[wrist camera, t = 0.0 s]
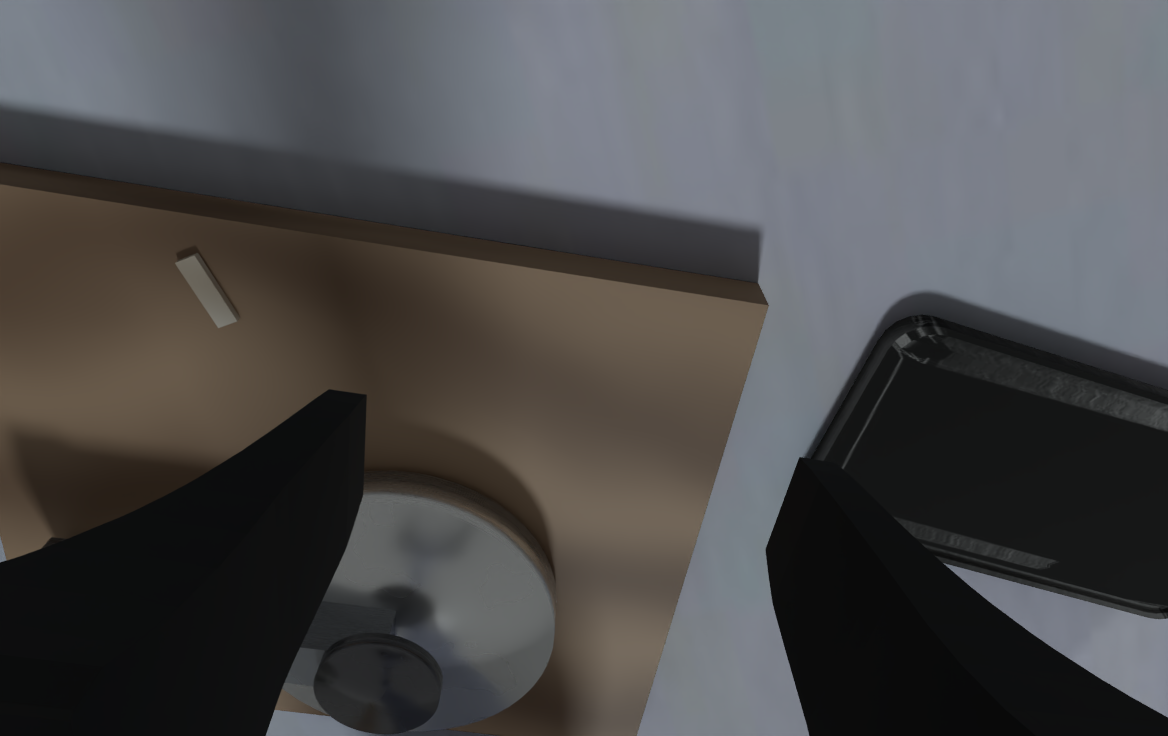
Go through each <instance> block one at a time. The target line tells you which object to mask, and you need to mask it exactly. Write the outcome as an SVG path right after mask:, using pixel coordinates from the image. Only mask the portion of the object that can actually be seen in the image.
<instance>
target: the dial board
mask: <svg viewBox="0 0 1168 736" xmlns="http://www.w3.org/2000/svg"><path fill="white" fill-rule="evenodd" d="M768 306H769V305H768V303H767V301H766V299H765V297H764V294H763V292H762V290H761V288H760V286H759V284H758V283H752V282H746V281H740V280H733V279H727V278H721V277H715V276H708V275H702V274H696V273H690V272H683V271H677V270H671V269H664V268H658V267H652V266H646V265H639V264H633V263H627V262H621V261H614V260H608V259H602V258H595V257H589V256H583V255H577V254H570V253H564V252H558V251H552V250H545V249H539V248H533V247H527V246H520V245H514V244H508V243H501V242H495V241H489V240H483V239H476V238H470V237H464V236H458V235H451V234H445V233H439V232H432V231H426V230H420V229H414V228H407V227H401V226H395V225H389V224H382V223H376V222H370V221H364V220H357V219H351V218H345V217H338V216H332V215H326V214H320V213H313V212H307V211H301V210H295V209H288V208H282V207H276V206H269V205H263V204H257V203H251V202H244V201H238V200H232V199H226V198H219V197H213V196H207V195H201V194H194V193H188V192H182V191H175V190H169V189H163V188H157V187H150V186H144V185H138V184H132V183H125V182H119V181H113V180H106V179H100V178H94V177H88V176H81V175H75V174H69V173H63V172H56V171H50V170H44V169H38V168H31V167H25V166H19V165H12V164H6V163H0V536H1V540H2V544H3V548H4V552H5V556H6V559H7V560H10V559H13V558H16V557H19V556H22V555H25V554H28V553H30V552H33V551H36V550H39V549H41V548H42V547H43V546H44V545H45V544H46V543H47V541H48V540H49V539H50V538H51V537H56V538H64V539H68V538H71V537H73V536H76V535H78V534H80V533H83V532H85V531H88V530H90V529H92V528H95V527H97V526H100V525H102V524H105V523H107V522H109V521H112V520H114V519H117V518H119V517H121V516H124V515H126V514H128V513H130V512H132V511H135V510H137V509H139V508H141V507H143V506H145V505H147V504H149V503H151V502H153V501H155V500H157V499H159V498H161V497H163V496H165V495H167V494H169V493H171V492H173V491H175V490H176V489H178V488H180V487H182V486H184V485H186V484H188V483H189V482H191V481H193V480H195V479H196V478H198V477H200V476H201V475H203V474H205V473H206V472H208V471H210V470H211V469H213V468H214V467H216V466H218V465H219V464H221V463H223V462H224V461H226V460H227V459H229V458H231V457H232V456H234V455H236V454H237V453H239V452H240V451H242V450H243V449H245V448H246V447H248V446H249V445H251V444H252V443H253V442H255V441H256V440H258V439H259V438H261V437H262V436H264V435H265V434H267V433H268V432H270V431H271V430H272V429H274V428H275V427H277V426H278V425H279V424H281V423H282V422H284V421H285V420H286V419H288V418H289V417H290V416H292V415H293V414H295V413H296V412H297V411H299V410H300V409H301V408H303V407H304V406H306V405H307V404H308V403H310V402H311V401H313V400H314V399H315V398H317V397H318V396H320V395H321V394H323V393H324V392H326V391H327V390H328V389H331V390H338V391H345V392H352V393H359V394H366V395H367V405H366V433H365V462H364V472H368V471H401V472H413V473H419V474H424V475H429V476H435V477H438V478H442V479H445V480H448V481H452V482H455V483H458V484H460V485H463V486H465V487H467V488H470V489H472V490H475V491H477V492H479V493H481V494H482V495H484V496H486V497H488V498H490V499H491V500H493V501H495V502H496V503H498V504H499V505H501V506H502V507H503V508H505V509H506V510H508V511H509V512H510V513H512V514H513V515H514V516H515V517H516V518H517V519H518V520H519V521H520V522H521V523H523V524H524V525H525V526H526V527H527V529H528V530H529V531H530V532H531V533H532V535H533V536H534V537H535V538H536V539H537V541H538V543H539V544H540V546H541V547H542V549H543V551H544V552H545V554H546V556H547V558H548V561H549V563H550V565H551V568H552V571H553V575H554V579H555V583H556V597H557V599H556V617H555V634H554V643H553V649H552V653H551V656H550V659H549V662H548V664H547V666H546V668H545V670H544V672H543V674H542V675H541V677H540V678H539V679H538V681H537V682H536V683H535V685H534V686H533V687H532V688H531V689H530V690H529V691H528V692H527V693H526V694H525V695H524V696H523V697H522V698H520V699H519V700H518V701H516V702H515V703H514V704H512V705H511V706H510V707H508V708H506V709H504V710H502V711H501V712H499V713H497V714H495V715H493V716H490V717H488V718H486V719H483V720H481V721H478V722H475V723H471V724H468V725H464V726H460V727H455V728H450V729H447V730H455V731H464V732H473V733H481V734H490V735H499V736H637V732H638V729H639V726H640V723H641V719H642V716H643V713H644V710H645V706H646V703H647V700H648V697H649V693H650V690H651V687H652V684H653V680H654V677H655V674H656V671H657V667H658V664H659V661H660V658H661V654H662V651H663V648H664V645H665V641H666V638H667V635H668V632H669V628H670V625H671V622H672V618H673V615H674V612H675V609H676V605H677V602H678V599H679V596H680V592H681V589H682V586H683V583H684V579H685V576H686V573H687V570H688V566H689V563H690V560H691V557H692V553H693V550H694V547H695V544H696V540H697V537H698V534H699V531H700V527H701V524H702V521H703V518H704V514H705V511H706V508H707V505H708V501H709V498H710V495H711V492H712V488H713V485H714V482H715V479H716V475H717V472H718V469H719V466H720V462H721V459H722V456H723V453H724V449H725V446H726V443H727V440H728V436H729V433H730V430H731V427H732V423H733V420H734V417H735V414H736V410H737V407H738V404H739V401H740V397H741V394H742V391H743V388H744V384H745V381H746V378H747V375H748V371H749V368H750V365H751V362H752V358H753V355H754V352H755V349H756V345H757V342H758V339H759V336H760V332H761V329H762V326H763V322H764V319H765V316H766V313H767V309H768ZM275 710H281V711H290V712H299V713H307V714H316V715H325V716H330V715H328V714H325V713H323V712H321V711H319V710H316V709H314V708H312V707H310V706H309V705H307V704H305V703H303V702H301V701H299V700H298V699H296V698H295V697H293V696H292V695H290V694H289V693H288V692H286V691H285V690H283V689H282V690H281V693H280V696H279V698H278V701H277V704H276V707H275Z"/></svg>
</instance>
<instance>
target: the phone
mask: <svg viewBox="0 0 1168 736" xmlns="http://www.w3.org/2000/svg"><path fill="white" fill-rule="evenodd" d="M811 459H814V460H821V461H828V462H835V463H836V464H837V465H838V466H840V467H841V468H842V469H843V470H844V471H846V472H847V473H848V474H849V475H850V476H851V477H852V478H853V479H854V480H855V481H856V482H857V483H859V484H860V485H861V486H862V487H863V488H864V489H865V490H866V491H867V492H868V493H869V494H870V495H871V496H872V497H873V498H874V499H875V500H876V501H877V502H878V503H879V504H880V505H881V506H882V507H883V508H884V509H885V510H886V511H887V512H888V513H890V514H891V515H892V516H893V517H894V518H895V519H896V520H897V521H898V522H899V523H900V524H901V525H902V526H903V527H904V528H905V529H906V530H907V531H908V532H909V533H910V534H912V535H913V536H914V537H915V538H916V539H917V540H918V541H919V542H920V543H921V544H922V545H923V546H924V547H925V548H927V549H928V550H929V551H930V552H931V553H932V554H933V555H934V556H935V557H937V558H938V559H939V560H940V561H941V562H942V563H946V564H949V565H953V566H957V567H960V568H964V569H968V570H972V571H975V572H979V573H983V574H987V575H990V576H994V577H998V578H1002V579H1005V580H1009V581H1013V582H1017V583H1020V584H1024V585H1028V586H1032V587H1035V588H1039V589H1043V590H1047V591H1050V592H1054V593H1058V594H1062V595H1065V596H1069V597H1073V598H1077V599H1080V600H1084V601H1088V602H1092V603H1095V604H1099V605H1103V606H1107V607H1110V608H1114V609H1118V610H1122V611H1125V612H1129V613H1133V614H1137V615H1140V616H1144V617H1148V618H1154V619H1166V618H1168V390H1165V389H1161V388H1158V387H1155V386H1152V385H1149V384H1146V383H1143V382H1139V381H1136V380H1133V379H1130V378H1127V377H1124V376H1120V375H1117V374H1114V373H1111V372H1108V371H1105V370H1101V369H1098V368H1095V367H1092V366H1089V365H1086V364H1082V363H1079V362H1076V361H1073V360H1070V359H1067V358H1063V357H1060V356H1057V355H1054V354H1051V353H1048V352H1044V351H1041V350H1038V349H1035V348H1032V347H1029V346H1025V345H1022V344H1019V343H1016V342H1013V341H1010V340H1006V339H1003V338H1000V337H997V336H994V335H991V334H987V333H984V332H981V331H978V330H975V329H972V328H969V327H965V326H962V325H959V324H956V323H953V322H950V321H946V320H943V319H940V318H937V317H933V316H926V315H918V316H910V317H907V318H905V319H902V320H900V321H898V322H896V323H895V324H893V325H892V326H891V327H889V328H888V329H887V330H886V331H885V332H884V333H883V335H882V336H881V337H880V339H879V340H878V342H877V344H876V345H875V347H874V349H873V351H872V352H871V354H870V356H869V358H868V359H867V361H866V363H865V365H864V366H863V368H862V370H861V372H860V373H859V375H858V377H857V379H856V381H855V382H854V384H853V386H852V388H851V389H850V391H849V393H848V395H847V396H846V398H845V400H844V402H843V403H842V405H841V407H840V409H839V410H838V412H837V414H836V416H835V418H834V419H833V421H832V423H831V425H830V426H829V428H828V430H827V432H826V433H825V435H824V437H823V439H822V440H821V442H820V444H819V446H818V447H817V449H816V451H815V453H814V454H813V456H812V458H811Z"/></svg>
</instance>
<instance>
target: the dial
mask: <svg viewBox="0 0 1168 736" xmlns="http://www.w3.org/2000/svg"><path fill="white" fill-rule="evenodd" d="M63 540H66V539H64V538H56V537H51V538H50V539H49V540H48V541H47V543H46V544H45V545H44V546H43V547H42V548H45V547H47V546H50V545H53V544H56V543H58V542H61V541H63ZM42 548H41V549H42ZM556 599H557V597H556V583H555V579H554V575H553V571H552V568H551V565H550V563H549V561H548V558H547V556H546V554H545V552H544V551H543V549H542V547H541V546H540V544H539V543H538V541H537V539H536V538H535V537H534V536H533V535H532V533H531V532H530V531H529V530H528V529H527V527H526V526H525V525H524V524H523V523H521V522H520V521H519V520H518V519H517V518H516V517H515V516H514V515H513V514H512V513H510V512H509V511H508V510H506V509H505V508H503V507H502V506H501V505H499V504H498V503H496V502H495V501H493V500H491V499H490V498H488V497H486V496H484V495H482V494H481V493H479V492H477V491H475V490H472V489H470V488H467V487H465V486H463V485H460V484H458V483H455V482H452V481H448V480H445V479H442V478H438V477H435V476H429V475H424V474H419V473H413V472H401V471H368V472H364V490H363V498H362V501H361V504H360V507H359V511H358V514H357V517H356V520H355V524H354V527H353V530H352V533H351V536H350V539H349V542H348V545H347V548H346V550H345V552H344V555H343V557H342V559H341V561H340V563H339V566H338V568H337V570H336V572H335V574H334V576H333V579H332V581H331V583H330V585H329V587H328V589H327V591H326V594H325V596H324V598H323V600H322V602H321V604H320V606H319V608H318V611H317V613H316V615H315V617H314V619H313V621H312V623H311V625H310V628H309V630H308V632H307V634H306V636H305V638H304V640H303V642H302V645H301V647H300V649H299V651H298V653H297V655H296V657H295V659H294V662H293V664H292V666H291V668H290V671H289V673H288V676H287V678H286V680H285V683H284V685H283V688H282V689H283V690H285V691H286V692H288V693H289V694H290V695H292V696H293V697H295V698H296V699H298V700H299V701H301V702H303V703H305V704H307V705H309V706H310V707H312V708H314V709H316V710H319V711H321V712H323V713H325V714H328V715H330V716H331V717H332V718H334V719H335V720H337V721H338V722H340V723H342V724H344V725H346V726H348V727H350V728H353V729H356V730H359V731H364V732H368V733H375V734H395V733H401V732H406V731H407V732H410V731H434V730H445V729H450V728H455V727H460V726H464V725H468V724H471V723H475V722H478V721H481V720H483V719H486V718H488V717H490V716H493V715H495V714H497V713H499V712H501V711H502V710H504V709H506V708H508V707H510V706H511V705H512V704H514V703H515V702H516V701H518V700H519V699H520V698H522V697H523V696H524V695H525V694H526V693H527V692H528V691H529V690H530V689H531V688H532V687H533V686H534V685H535V683H536V682H537V681H538V679H539V678H540V677H541V675H542V674H543V672H544V670H545V668H546V666H547V664H548V662H549V659H550V656H551V653H552V649H553V643H554V634H555V617H556Z"/></svg>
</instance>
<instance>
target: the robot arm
mask: <svg viewBox="0 0 1168 736" xmlns="http://www.w3.org/2000/svg"><path fill="white" fill-rule="evenodd" d="M366 405H367V395H366V394H359V393H352V392H345V391H338V390H331V389H328V390H327V391H326V392H324V393H323V394H321V395H320V396H318V397H317V398H315V399H314V400H313V401H311V402H310V403H308V404H307V405H306V406H304V407H303V408H301V409H300V410H299V411H297V412H296V413H295V414H293V415H292V416H290V417H289V418H288V419H286V420H285V421H284V422H282V423H281V424H279V425H278V426H277V427H275V428H274V429H272V430H271V431H270V432H268V433H267V434H265V435H264V436H262V437H261V438H259V439H258V440H256V441H255V442H253V443H252V444H251V445H249V446H248V447H246V448H245V449H243V450H242V451H240V452H239V453H237V454H236V455H234V456H232V457H231V458H229V459H227V460H226V461H224V462H223V463H221V464H219V465H218V466H216V467H214V468H213V469H211V470H210V471H208V472H206V473H205V474H203V475H201V476H200V477H198V478H196V479H195V480H193V481H191V482H189V483H188V484H186V485H184V486H182V487H180V488H178V489H176V490H175V491H173V492H171V493H169V494H167V495H165V496H163V497H161V498H159V499H157V500H155V501H153V502H151V503H149V504H147V505H145V506H143V507H141V508H139V509H137V510H135V511H132V512H130V513H128V514H126V515H124V516H121V517H119V518H117V519H114V520H112V521H109V522H107V523H105V524H102V525H100V526H97V527H95V528H92V529H90V530H88V531H85V532H83V533H80V534H78V535H76V536H73V537H71V538H68V539H66V540H63V541H61V542H58V543H56V544H53V545H50V546H47V547H45V548H42V549H39V550H36V551H33V552H30V553H28V554H25V555H22V556H19V557H16V558H13V559H10V560H7V561H4V562H1V563H0V736H266V733H267V730H268V727H269V724H270V721H271V718H272V716H273V713H274V710H275V707H276V704H277V701H278V698H279V696H280V693H281V690H282V688H283V685H284V683H285V680H286V678H287V676H288V673H289V671H290V668H291V666H292V664H293V662H294V659H295V657H296V655H297V653H298V651H299V649H300V647H301V645H302V642H303V640H304V638H305V636H306V634H307V632H308V630H309V628H310V625H311V623H312V621H313V619H314V617H315V615H316V613H317V611H318V608H319V606H320V604H321V602H322V600H323V598H324V596H325V594H326V591H327V589H328V587H329V585H330V583H331V581H332V579H333V576H334V574H335V572H336V570H337V568H338V566H339V563H340V561H341V559H342V557H343V555H344V552H345V550H346V548H347V545H348V542H349V539H350V536H351V533H352V530H353V527H354V524H355V520H356V517H357V514H358V511H359V507H360V504H361V501H362V498H363V490H364V462H365V433H366ZM766 557H767V565H768V574H769V582H770V588H771V595H772V601H773V606H774V610H775V614H776V618H777V621H778V625H779V628H780V632H781V636H782V639H783V643H784V647H785V650H786V654H787V657H788V661H789V664H790V668H791V671H792V675H793V678H794V682H795V685H796V689H797V692H798V696H799V699H800V703H801V706H802V710H803V713H804V717H805V720H806V724H807V727H808V732H809V736H1168V717H1166V716H1164V715H1162V714H1160V713H1159V712H1157V711H1155V710H1153V709H1151V708H1150V707H1148V706H1146V705H1144V704H1142V703H1141V702H1139V701H1137V700H1135V699H1133V698H1132V697H1130V696H1128V695H1127V694H1125V693H1123V692H1122V691H1120V690H1118V689H1117V688H1115V687H1113V686H1111V685H1110V684H1108V683H1106V682H1105V681H1103V680H1101V679H1100V678H1098V677H1097V676H1095V675H1093V674H1092V673H1090V672H1089V671H1087V670H1086V669H1084V668H1083V667H1081V666H1080V665H1078V664H1076V663H1075V662H1073V661H1072V660H1070V659H1069V658H1067V657H1066V656H1064V655H1062V654H1061V653H1059V652H1058V651H1056V650H1055V649H1053V648H1052V647H1050V646H1049V645H1047V644H1046V643H1045V642H1043V641H1042V640H1040V639H1039V638H1037V637H1036V636H1034V635H1033V634H1032V633H1030V632H1029V631H1027V630H1026V629H1025V628H1023V627H1022V626H1021V625H1019V624H1018V623H1017V622H1015V621H1014V620H1013V619H1011V618H1010V617H1009V616H1007V615H1006V614H1005V613H1003V612H1002V611H1001V610H999V609H998V608H997V607H995V606H994V605H992V604H991V603H990V602H989V601H987V600H986V599H985V598H984V597H982V596H981V595H980V594H979V593H977V592H976V591H975V590H974V589H973V588H971V587H970V586H969V585H968V584H967V583H965V582H964V581H963V580H962V579H961V578H960V577H958V576H957V575H956V574H955V573H954V572H953V571H951V570H950V569H949V568H948V567H947V566H946V565H944V564H943V563H942V562H941V561H940V560H939V559H938V558H937V557H935V556H934V555H933V554H932V553H931V552H930V551H929V550H928V549H927V548H925V547H924V546H923V545H922V544H921V543H920V542H919V541H918V540H917V539H916V538H915V537H914V536H913V535H912V534H910V533H909V532H908V531H907V530H906V529H905V528H904V527H903V526H902V525H901V524H900V523H899V522H898V521H897V520H896V519H895V518H894V517H893V516H892V515H891V514H890V513H888V512H887V511H886V510H885V509H884V508H883V507H882V506H881V505H880V504H879V503H878V502H877V501H876V500H875V499H874V498H873V497H872V496H871V495H870V494H869V493H868V492H867V491H866V490H865V489H864V488H863V487H862V486H861V485H860V484H859V483H857V482H856V481H855V480H854V479H853V478H852V477H851V476H850V475H849V474H848V473H847V472H846V471H844V470H843V469H842V468H841V467H840V466H838V465H837V464H836V463H835V462H828V461H821V460H814V459H808V458H801V457H799V460H798V463H797V466H796V468H795V471H794V474H793V476H792V479H791V482H790V485H789V487H788V490H787V493H786V495H785V498H784V501H783V504H782V506H781V509H780V512H779V514H778V517H777V520H776V523H775V525H774V528H773V531H772V533H771V536H770V539H769V542H768V544H767V547H766Z"/></svg>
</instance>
